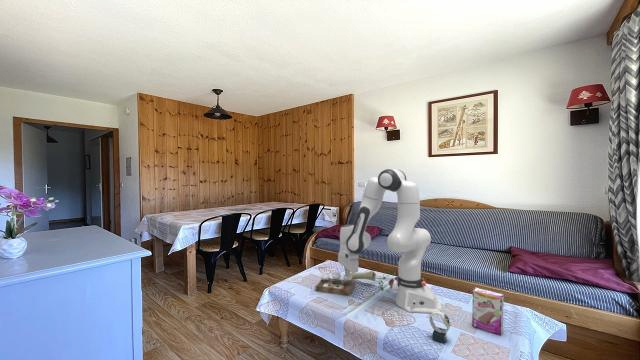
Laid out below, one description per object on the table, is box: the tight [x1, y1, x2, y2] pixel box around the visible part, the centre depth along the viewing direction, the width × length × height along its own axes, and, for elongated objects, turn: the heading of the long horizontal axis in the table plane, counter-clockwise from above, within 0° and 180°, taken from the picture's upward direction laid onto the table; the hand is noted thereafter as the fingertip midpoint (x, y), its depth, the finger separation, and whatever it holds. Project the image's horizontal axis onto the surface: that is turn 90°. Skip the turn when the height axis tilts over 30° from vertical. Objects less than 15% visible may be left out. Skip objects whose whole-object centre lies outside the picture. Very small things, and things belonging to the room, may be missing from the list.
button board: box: [315, 278, 356, 297], centre depth 167 cm, size 20×14×4 cm
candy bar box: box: [471, 287, 505, 336], centre depth 123 cm, size 11×5×16 cm, turn 48°
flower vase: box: [350, 269, 398, 291], centre depth 169 cm, size 12×12×35 cm
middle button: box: [331, 272, 342, 280], centre depth 169 cm, size 5×5×2 cm
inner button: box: [343, 273, 353, 281], centre depth 166 cm, size 5×5×2 cm
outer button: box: [320, 273, 330, 280], centre depth 171 cm, size 5×5×2 cm
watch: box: [428, 311, 452, 344], centre depth 116 cm, size 6×8×11 cm
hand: (347, 275), depth 166 cm, fingers closed
